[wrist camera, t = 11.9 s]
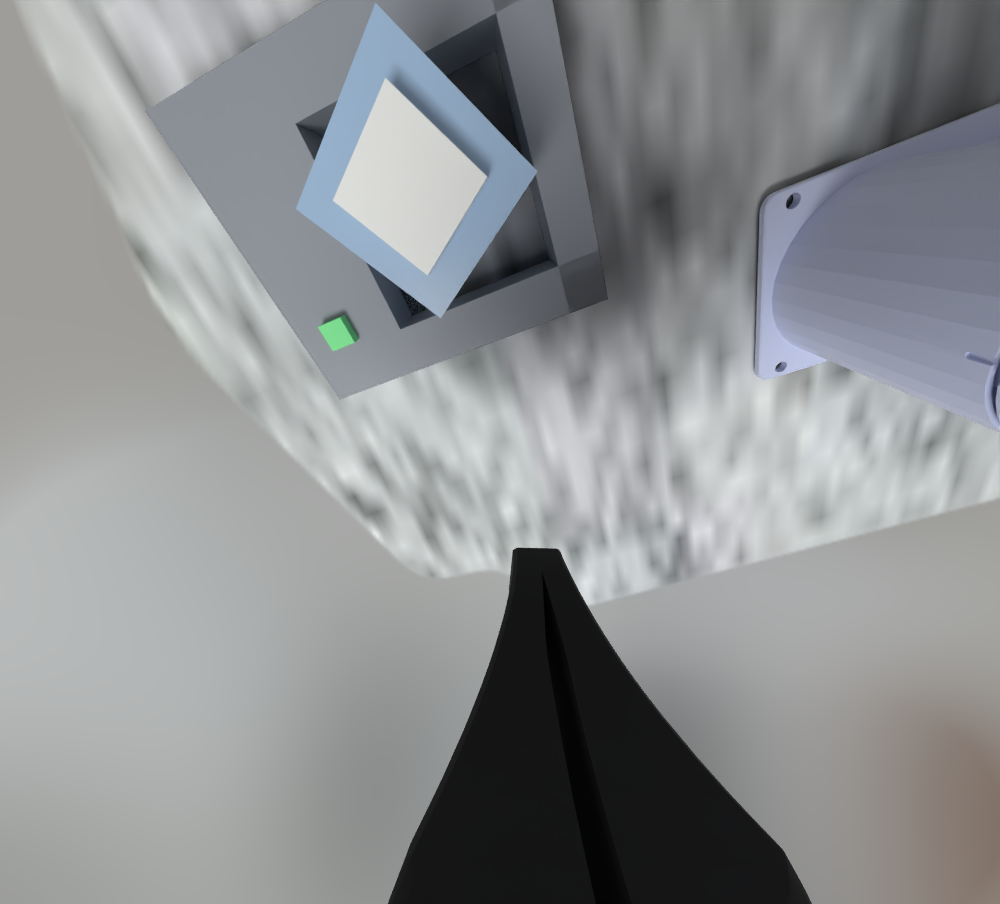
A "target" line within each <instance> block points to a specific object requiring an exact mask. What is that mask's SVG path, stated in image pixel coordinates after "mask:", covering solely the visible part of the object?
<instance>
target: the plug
mask: <svg viewBox="0 0 1000 904" xmlns="http://www.w3.org/2000/svg"><path fill="white" fill-rule="evenodd" d="M537 172H538V171H537V170H536V169H535V168H534V167H533V166H532V165H531V164H530V163H529V162H528V161H527V160H526V159H525V158H524V157H523V156H522V155H521V154H520V153H519V152H518V151H517V150H516V148H515V147H514V146H513V145H512V144H511V143H510V142H509V141H508V140H507V139H506V138H505V137H504V136H503V135H502V134H501V133H500V132H499V131H498V130H497V129H496V128H495V127H494V126H493V125H492V124H491V122H490V121H489V120H488V119H487V118H486V117H485V116H484V115H483V114H482V113H481V112H480V111H479V110H478V109H477V108H476V107H475V106H474V105H473V104H472V103H471V102H470V101H469V100H468V99H467V98H466V96H465V95H464V94H463V93H462V92H461V91H460V90H459V89H458V88H457V87H456V86H455V85H454V84H453V83H452V82H451V81H450V80H449V79H448V78H447V77H446V76H445V75H444V74H443V73H442V71H441V70H440V69H439V68H438V67H437V66H436V65H435V64H434V63H433V62H432V61H431V60H430V59H429V58H428V57H427V56H426V55H425V54H424V53H423V52H422V51H421V50H420V49H419V48H418V47H417V45H416V44H415V43H414V42H413V41H412V40H411V39H410V38H409V37H408V36H407V35H406V34H405V33H404V32H403V31H402V30H401V29H400V28H399V27H398V26H397V25H396V24H395V23H394V22H393V20H392V19H391V18H390V17H389V16H388V15H387V14H386V13H385V12H384V11H383V10H382V9H381V8H380V7H379V6H378V5H377V4H376V3H375V5H374V8H373V10H372V13H371V16H370V18H369V21H368V23H367V26H366V28H365V31H364V34H363V36H362V39H361V41H360V44H359V47H358V49H357V52H356V54H355V57H354V60H353V62H352V65H351V67H350V70H349V72H348V75H347V78H346V80H345V83H344V85H343V88H342V91H341V93H340V96H339V98H338V101H337V103H336V106H335V109H334V111H333V114H332V116H331V119H330V122H329V124H328V127H327V129H326V132H325V135H324V137H323V140H322V142H321V145H320V147H319V150H318V153H317V155H316V158H315V160H314V163H313V166H312V168H311V171H310V173H309V176H308V179H307V181H306V184H305V186H304V189H303V191H302V194H301V197H300V199H299V202H298V204H297V207H296V210H298V211H299V212H300V213H302V214H303V215H304V216H306V217H307V218H308V219H310V220H311V221H312V222H314V223H315V224H316V225H318V226H319V227H320V228H322V229H323V230H324V231H326V232H327V233H328V234H330V235H331V236H332V237H334V238H335V239H336V240H338V241H339V242H340V243H342V244H343V245H344V246H345V247H347V248H348V249H349V250H351V251H352V252H353V253H355V254H356V255H357V256H359V257H360V258H361V259H363V260H364V261H365V262H367V263H368V264H369V265H371V266H372V267H373V268H375V269H376V270H377V271H379V272H380V273H381V274H383V275H384V276H385V277H387V278H388V279H389V280H390V281H392V282H393V283H394V284H396V285H397V286H398V287H400V288H401V289H402V290H404V291H405V292H406V293H408V294H409V295H410V296H412V297H413V298H414V299H416V300H417V301H418V302H420V303H421V304H422V305H424V306H425V307H426V308H428V309H429V310H430V311H432V312H433V313H434V314H436V315H437V316H438V317H439V318H441V317H442V316H443V314H444V313H445V311H446V310H447V308H448V307H449V305H450V304H451V302H452V301H453V299H454V298H455V296H456V295H457V293H458V291H459V290H460V288H461V287H462V285H463V284H464V282H465V281H466V279H467V278H468V276H469V275H470V273H471V272H472V270H473V269H474V267H475V266H476V264H477V263H478V261H479V260H480V258H481V257H482V255H483V254H484V252H485V251H486V249H487V248H488V246H489V244H490V243H491V241H492V240H493V238H494V237H495V235H496V234H497V232H498V231H499V229H500V228H501V226H502V225H503V223H504V222H505V220H506V219H507V217H508V216H509V214H510V213H511V211H512V210H513V208H514V207H515V205H516V204H517V202H518V201H519V199H520V197H521V196H522V194H523V193H524V191H525V190H526V188H527V187H528V185H529V184H530V182H531V181H532V179H533V178H534V176H535V175H536V173H537Z"/></svg>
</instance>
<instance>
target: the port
mask: <svg viewBox="0 0 1000 904" xmlns="http://www.w3.org/2000/svg"><path fill="white" fill-rule="evenodd" d="M375 3H376V4H377V5H378V6H379V7H380V8H381V9H382V10H383V11H384V12H385V13H386V14H387V15H388V16H389V17H390V18H391V19H392V20H393V22H394V23H395V24H396V25H397V26H398V27H399V28H400V29H401V30H402V31H403V32H404V33H405V34H406V35H407V36H408V37H409V38H410V39H411V40H412V41H413V42H414V43H415V44H416V45H417V47H418V48H419V49H420V50H421V51H422V52H423V53H424V54H425V55H426V56H427V57H428V58H429V59H430V60H431V61H432V62H433V63H434V64H435V65H436V66H437V67H438V68H439V69H440V70H441V71H442V73H443V74H444V75H445V76H448V75H449V74H451V73H453V72H455V71H457V70H459V69H461V68H463V67H464V66H466V65H468V64H470V63H472V62H474V61H476V60H478V59H480V58H481V57H483V56H485V55H487V54H489V53H491V52H493V51H495V50H496V53H497V57H498V61H499V65H500V69H501V73H502V77H503V81H504V84H505V88H506V92H507V96H508V100H509V104H510V108H511V112H512V116H513V120H514V123H515V127H516V131H517V135H518V139H519V143H520V147H521V151H522V155H523V157H524V158H525V159H526V160H527V161H528V162H529V163H530V164H531V165H532V166H533V167H534V168H535V169H536V170H537V171H538V172H537V173H536V175H535V176H534V178H533V179H532V181H531V182H530V186H531V190H532V194H533V198H534V202H535V206H536V209H537V213H538V217H539V221H540V225H541V229H542V233H543V237H544V241H545V245H546V248H547V252H548V256H549V260H547V261H545V262H542V263H540V264H537V265H535V266H533V267H530V268H528V269H525V270H523V271H520V272H518V273H515V274H513V275H510V276H508V277H506V278H503V279H501V280H498V281H496V282H493V283H491V284H488V285H486V286H483V287H481V288H479V289H476V290H474V291H471V292H469V293H466V294H464V295H461V296H459V297H456V298H454V299H453V301H452V302H451V304H450V305H449V307H448V308H447V310H446V311H445V313H444V314H443V316H442V317H441V318H439V317H438V316H437V315H436V314H434V313H433V312H432V311H430V310H429V309H427V310H424V311H422V312H420V313H417V314H415V315H412V313H411V311H410V309H409V307H408V305H407V303H406V301H405V299H404V297H403V295H402V292H401V290H400V288H399V287H398V286H397V285H396V284H394V283H393V282H392V281H390V280H389V279H388V278H387V277H385V276H384V275H383V274H381V273H380V272H379V271H377V270H376V269H375V268H373V267H372V266H371V265H369V264H368V263H367V262H365V261H364V260H363V259H361V258H360V257H359V256H357V255H356V254H355V253H353V252H352V251H351V250H349V249H348V248H347V247H345V246H344V245H343V244H342V243H340V242H339V241H338V240H336V239H335V238H334V237H332V236H331V235H330V234H328V233H327V232H326V231H324V230H323V229H322V228H320V227H319V226H318V225H316V224H315V223H314V222H312V221H311V220H310V219H308V218H307V217H306V216H304V215H303V214H302V213H300V212H299V211H298V210H296V207H297V204H298V202H299V199H300V197H301V194H302V191H303V189H304V186H305V184H306V181H307V179H308V176H309V173H310V171H311V168H312V166H313V163H314V160H315V158H316V155H317V153H318V150H319V147H320V145H321V142H322V140H323V137H324V135H325V132H326V129H327V127H328V124H329V122H330V119H331V116H332V114H333V111H334V109H335V106H336V103H337V101H338V98H339V96H340V93H341V91H342V88H343V85H344V83H345V80H346V78H347V75H348V72H349V70H350V67H351V65H352V62H353V60H354V57H355V54H356V52H357V49H358V47H359V44H360V41H361V39H362V36H363V34H364V31H365V28H366V26H367V23H368V21H369V18H370V16H371V13H372V10H373V8H374V5H375ZM146 113H147V114H148V116H149V117H150V119H151V120H152V122H153V123H154V125H155V126H156V128H157V129H158V131H159V132H160V134H161V135H162V137H163V138H164V140H165V141H166V143H167V144H168V145H169V147H170V148H171V150H172V151H173V153H174V154H175V156H176V157H177V159H178V160H179V162H180V163H181V165H182V166H183V168H184V169H185V171H186V172H187V174H188V175H189V177H190V178H191V180H192V181H193V183H194V184H195V186H196V187H197V188H198V190H199V191H200V193H201V194H202V196H203V197H204V199H205V200H206V202H207V203H208V205H209V206H210V208H211V209H212V211H213V212H214V214H215V215H216V217H217V218H218V220H219V221H220V223H221V224H222V226H223V227H224V229H225V230H226V231H227V233H228V234H229V236H230V237H231V239H232V240H233V242H234V243H235V245H236V246H237V248H238V249H239V251H240V252H241V254H242V255H243V257H244V258H245V260H246V261H247V263H248V264H249V266H250V267H251V269H252V270H253V272H254V273H255V275H256V276H257V277H258V279H259V280H260V282H261V283H262V285H263V286H264V288H265V289H266V291H267V292H268V294H269V295H270V297H271V298H272V300H273V301H274V303H275V304H276V306H277V307H278V309H279V310H280V312H281V313H282V315H283V316H284V318H285V319H286V320H287V322H288V323H289V325H290V326H291V328H292V329H293V331H294V332H295V334H296V335H297V337H298V338H299V340H300V341H301V343H302V344H303V346H304V347H305V349H306V350H307V352H308V353H309V355H310V356H311V358H312V359H313V361H314V362H315V363H316V365H317V366H318V368H319V369H320V371H321V372H322V374H323V375H324V377H325V378H326V380H327V381H328V383H329V384H330V386H331V387H332V389H333V390H334V392H335V393H336V395H337V396H338V398H339V399H342V398H345V397H348V396H350V395H353V394H356V393H358V392H361V391H364V390H366V389H369V388H372V387H374V386H377V385H380V384H382V383H385V382H388V381H390V380H393V379H396V378H398V377H401V376H404V375H406V374H409V373H412V372H414V371H417V370H420V369H422V368H425V367H428V366H430V365H433V364H436V363H438V362H441V361H444V360H446V359H449V358H452V357H455V356H457V355H460V354H463V353H465V352H468V351H471V350H473V349H476V348H479V347H481V346H484V345H487V344H489V343H492V342H495V341H497V340H500V339H503V338H505V337H508V336H511V335H513V334H516V333H519V332H521V331H524V330H527V329H529V328H532V327H535V326H537V325H540V324H543V323H545V322H548V321H551V320H553V319H556V318H559V317H561V316H564V315H567V314H569V313H572V312H575V311H577V310H580V309H583V308H585V307H588V306H591V305H593V304H596V303H599V302H601V301H604V300H607V299H608V297H607V292H606V286H605V281H604V275H603V270H602V265H601V259H600V254H599V248H598V243H597V238H596V232H595V227H594V222H593V216H592V211H591V205H590V200H589V195H588V189H587V184H586V178H585V173H584V168H583V162H582V157H581V151H580V146H579V141H578V135H577V130H576V124H575V119H574V114H573V108H572V103H571V98H570V92H569V87H568V81H567V76H566V71H565V65H564V60H563V54H562V49H561V44H560V38H559V33H558V27H557V22H556V17H555V11H554V6H553V1H552V0H326V1H324V2H322V3H321V4H319V5H317V6H316V7H314V8H313V9H311V10H309V11H308V12H306V13H304V14H303V15H301V16H300V17H298V18H296V19H295V20H293V21H291V22H290V23H288V24H287V25H285V26H283V27H282V28H280V29H278V30H277V31H275V32H274V33H272V34H270V35H269V36H267V37H265V38H264V39H262V40H260V41H259V42H257V43H256V44H254V45H252V46H251V47H249V48H247V49H246V50H244V51H243V52H241V53H239V54H238V55H236V56H234V57H233V58H231V59H230V60H228V61H226V62H225V63H223V64H221V65H220V66H218V67H217V68H215V69H213V70H212V71H210V72H208V73H207V74H205V75H204V76H202V77H200V78H199V79H197V80H195V81H194V82H192V83H190V84H189V85H187V86H186V87H184V88H182V89H181V90H179V91H177V92H176V93H174V94H173V95H171V96H169V97H168V98H166V99H164V100H163V101H161V102H160V103H158V104H156V105H155V106H153V107H151V108H150V109H148V110H147V111H146Z"/></svg>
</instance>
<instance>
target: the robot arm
mask: <svg viewBox="0 0 1000 904" xmlns="http://www.w3.org/2000/svg"><path fill="white" fill-rule="evenodd" d="M790 195H793V198H794V199H793V202H792V204H791V205H790V207H789V208H786V201H787V199H788V198H789V196H790ZM826 361H831V362H834V363H836V364H838V365H841V366H843V367H845V368H848V369H850V370H853V371H855V372H857V373H860V374H862V375H864V376H867V377H869V378H872V379H874V380H876V381H879V382H881V383H883V384H886V385H888V386H891V387H893V388H895V389H898V390H900V391H902V392H905V393H907V394H910V395H912V396H914V397H917V398H919V399H921V400H924V401H926V402H929V403H931V404H933V405H936V406H938V407H940V408H943V409H945V410H948V411H950V412H952V413H955V414H957V415H959V416H962V417H964V418H967V419H969V420H971V421H974V422H976V423H978V424H981V425H983V426H985V427H988V428H990V429H993V430H995V431H997V432H1000V103H998V104H995V105H993V106H990V107H988V108H985V109H983V110H980V111H978V112H975V113H972V114H970V115H967V116H965V117H962V118H960V119H957V120H955V121H952V122H950V123H947V124H945V125H942V126H940V127H937V128H935V129H932V130H930V131H927V132H924V133H922V134H919V135H917V136H914V137H912V138H909V139H907V140H904V141H902V142H899V143H897V144H894V145H892V146H889V147H887V148H884V149H882V150H879V151H876V152H874V153H871V154H869V155H866V156H864V157H861V158H859V159H856V160H854V161H851V162H849V163H846V164H844V165H841V166H839V167H836V168H833V169H831V170H828V171H826V172H823V173H821V174H818V175H816V176H813V177H811V178H808V179H806V180H803V181H801V182H798V183H796V184H793V185H791V186H788V187H785V188H783V189H780V190H778V191H775V192H773V193H772V194H770V195H768V197H767V198H766V199H765V200H764V201H763V203H762V205H761V208H760V217H759V249H758V281H757V313H756V345H755V375H756V376H757V377H759V378H761V379H763V380H767V379H771V378H775V377H778V376H781V375H784V374H787V373H791V372H794V371H797V370H800V369H804V368H807V367H810V366H813V365H817V364H820V363H823V362H826ZM780 362H781V365H780V366H779V367H778V368H777V369H775V368H776V366H777V365H778V364H779V363H780ZM388 904H812V903H811V901H810V899H809V897H808V895H807V893H806V891H805V889H804V887H803V885H802V883H801V881H800V880H799V878H798V876H797V874H796V872H795V870H794V869H793V867H792V865H791V863H790V862H789V860H788V858H787V856H786V854H785V852H784V851H783V850H782V848H781V847H780V846H779V845H778V844H777V843H776V842H775V841H774V840H773V839H772V838H771V837H770V836H769V835H768V834H767V833H766V832H765V831H764V830H763V829H762V828H761V826H760V825H759V824H758V823H757V822H756V821H755V820H754V819H753V818H752V817H751V816H750V815H749V814H748V813H747V812H746V811H745V810H744V809H743V808H742V806H741V805H740V804H739V803H738V802H737V801H736V800H735V799H734V798H733V797H732V796H731V795H730V794H729V792H728V791H727V790H726V789H725V788H724V787H723V786H722V785H721V784H720V782H719V781H718V780H717V779H716V778H715V777H714V776H713V775H712V774H711V773H710V772H709V770H708V769H707V768H706V767H705V766H704V765H703V763H702V762H701V761H700V760H699V759H698V758H697V757H696V755H695V754H694V753H693V752H692V751H691V750H690V748H689V747H688V746H687V745H686V743H685V742H684V741H683V740H682V739H681V737H680V736H679V735H678V734H677V733H676V731H675V730H674V729H673V728H672V727H671V726H670V724H669V723H668V722H667V721H666V720H665V718H664V717H663V716H662V715H661V713H660V712H659V711H658V710H657V708H656V707H655V706H654V704H653V703H652V702H651V700H650V699H649V698H648V697H647V695H646V694H645V693H644V691H643V690H642V689H641V687H640V686H639V685H638V683H637V682H636V681H635V679H634V678H633V676H632V675H631V674H630V672H629V671H628V669H627V668H626V666H625V665H624V664H623V662H622V661H621V659H620V658H619V656H618V655H617V653H616V652H615V650H614V649H613V647H612V646H611V644H610V643H609V641H608V639H607V638H606V637H605V635H604V633H603V632H602V630H601V628H600V627H599V625H598V623H597V622H596V620H595V618H594V617H593V615H592V613H591V611H590V610H589V608H588V606H587V605H586V603H585V601H584V599H583V597H582V596H581V594H580V592H579V590H578V588H577V586H576V584H575V582H574V580H573V579H572V576H571V574H570V572H569V570H568V568H567V566H566V564H565V562H564V559H563V557H562V555H561V552H560V551H559V550H558V549H549V548H516V549H514V550H513V555H512V565H511V575H510V585H509V596H508V600H507V605H506V610H505V614H504V618H503V621H502V625H501V628H500V631H499V635H498V638H497V642H496V645H495V648H494V652H493V654H492V657H491V661H490V663H489V666H488V669H487V672H486V675H485V677H484V680H483V683H482V686H481V688H480V691H479V693H478V696H477V699H476V701H475V704H474V706H473V709H472V711H471V714H470V716H469V719H468V721H467V723H466V726H465V728H464V731H463V733H462V736H461V738H460V740H459V742H458V744H457V747H456V749H455V751H454V753H453V755H452V758H451V760H450V762H449V765H448V767H447V769H446V772H445V773H444V776H443V778H442V780H441V782H440V784H439V786H438V789H437V791H436V793H435V795H434V797H433V799H432V801H431V803H430V805H429V807H428V809H427V811H426V813H425V815H424V817H423V820H422V821H421V823H420V825H419V827H418V829H417V831H416V833H415V836H414V838H413V840H412V842H411V844H410V846H409V849H408V852H407V855H406V858H405V860H404V863H403V865H402V868H401V870H400V873H399V876H398V878H397V881H396V884H395V886H394V889H393V891H392V894H391V897H390V899H389V903H388Z"/></svg>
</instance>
